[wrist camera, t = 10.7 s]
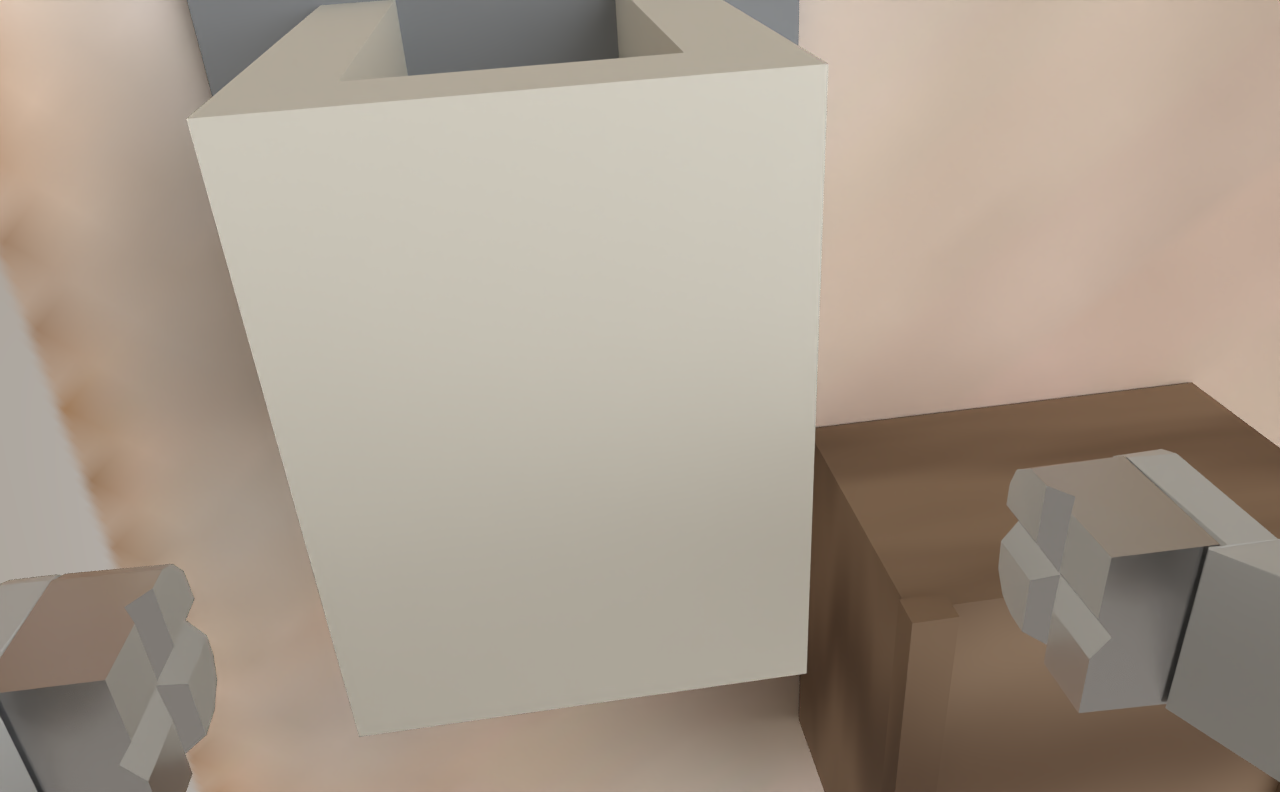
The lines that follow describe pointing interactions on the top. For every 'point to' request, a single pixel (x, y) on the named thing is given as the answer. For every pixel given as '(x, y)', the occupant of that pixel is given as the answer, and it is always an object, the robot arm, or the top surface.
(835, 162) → the top surface
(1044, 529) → the robot arm
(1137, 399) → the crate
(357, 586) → the cream square bin
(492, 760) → the top surface
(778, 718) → the top surface
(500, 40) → the mat
